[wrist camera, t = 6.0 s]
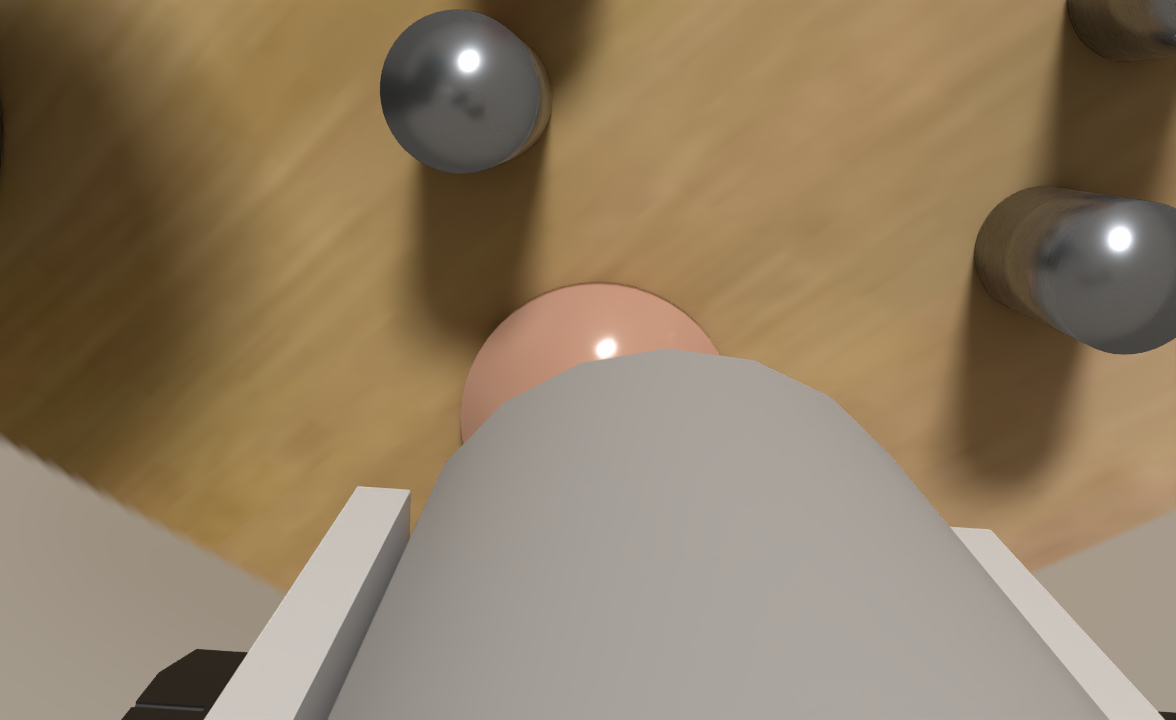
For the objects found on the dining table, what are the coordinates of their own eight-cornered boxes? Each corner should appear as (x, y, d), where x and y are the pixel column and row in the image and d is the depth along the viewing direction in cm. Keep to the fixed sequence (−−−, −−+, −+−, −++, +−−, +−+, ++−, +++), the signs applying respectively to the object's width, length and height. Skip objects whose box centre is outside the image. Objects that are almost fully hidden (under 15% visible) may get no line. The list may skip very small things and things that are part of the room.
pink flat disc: (437, 503, 34) (433, 512, 34) (500, 250, 32) (497, 253, 32) (690, 569, 35) (692, 580, 34) (768, 323, 33) (772, 327, 32)
